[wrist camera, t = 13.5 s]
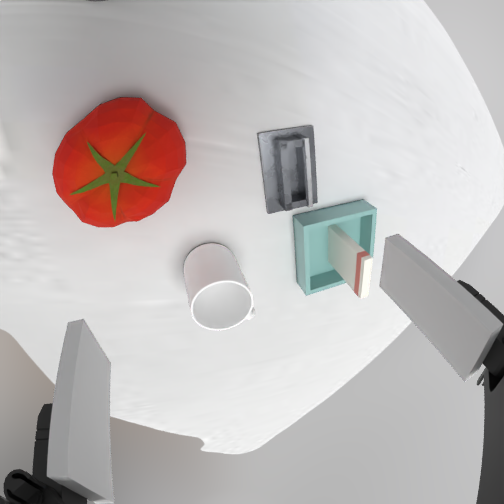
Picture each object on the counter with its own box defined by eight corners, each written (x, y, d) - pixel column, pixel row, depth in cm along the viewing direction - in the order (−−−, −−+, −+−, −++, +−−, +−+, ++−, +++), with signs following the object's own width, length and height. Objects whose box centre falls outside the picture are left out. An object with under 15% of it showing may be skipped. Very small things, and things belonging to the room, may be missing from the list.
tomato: (46, 155, 34) (18, 176, 25) (144, 75, 33) (138, 71, 24) (110, 231, 42) (100, 268, 33) (204, 162, 41) (216, 184, 32)
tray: (292, 215, 48) (303, 226, 45) (363, 199, 51) (376, 208, 47) (296, 282, 55) (306, 295, 52) (359, 262, 58) (371, 274, 54)
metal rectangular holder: (257, 133, 41) (265, 137, 38) (311, 125, 42) (322, 129, 39) (267, 212, 47) (274, 221, 44) (315, 201, 48) (325, 209, 45)
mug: (260, 273, 52) (282, 313, 44) (225, 305, 54) (240, 349, 45) (209, 230, 46) (222, 268, 37) (171, 268, 47) (177, 312, 39)
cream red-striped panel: (327, 225, 51) (364, 260, 41) (335, 223, 51) (373, 257, 42) (327, 261, 54) (360, 299, 45) (335, 259, 55) (368, 296, 45)
